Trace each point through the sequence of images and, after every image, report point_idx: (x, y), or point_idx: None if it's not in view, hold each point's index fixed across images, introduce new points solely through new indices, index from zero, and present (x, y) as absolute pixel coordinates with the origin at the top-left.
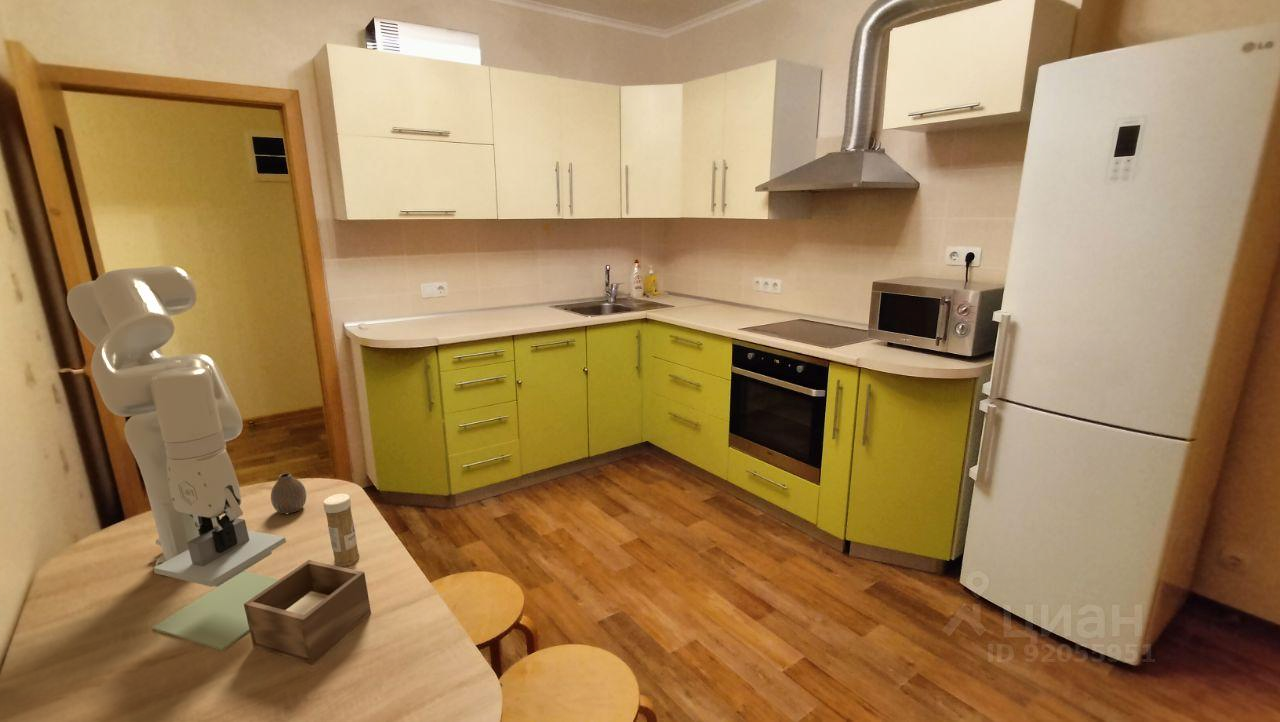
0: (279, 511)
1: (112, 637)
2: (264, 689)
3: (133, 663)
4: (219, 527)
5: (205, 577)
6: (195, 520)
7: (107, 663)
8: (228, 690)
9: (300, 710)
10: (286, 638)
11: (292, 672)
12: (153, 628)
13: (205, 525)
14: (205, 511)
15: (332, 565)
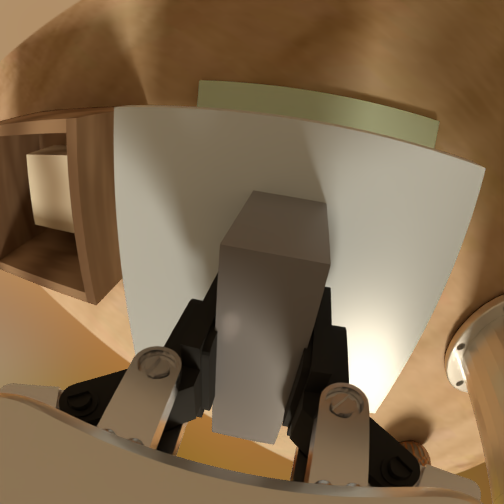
0: (413, 445)
1: (496, 97)
2: (63, 47)
3: (374, 17)
4: (130, 366)
5: (156, 120)
6: (350, 430)
7: (431, 18)
8: (109, 20)
9: (12, 51)
10: (43, 114)
11: (52, 88)
12: (435, 120)
13: (303, 401)
14: (13, 453)
15: (43, 285)
